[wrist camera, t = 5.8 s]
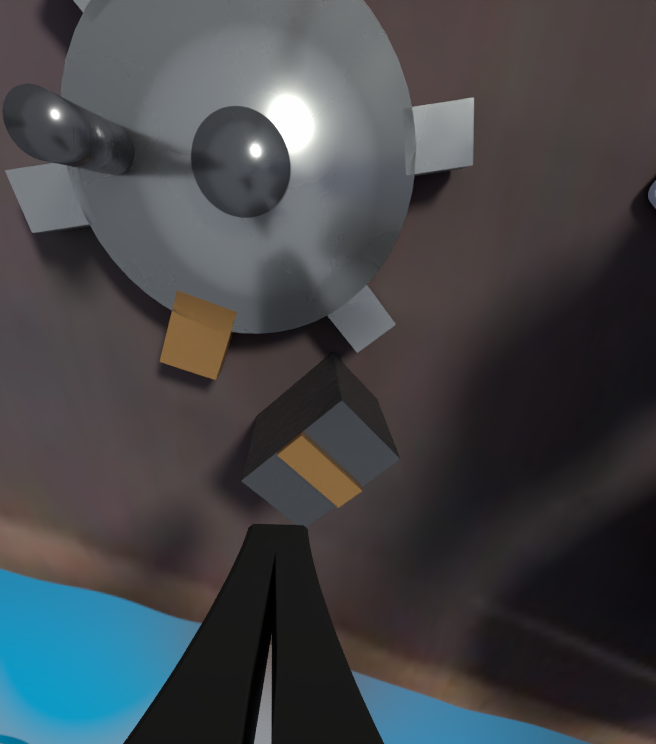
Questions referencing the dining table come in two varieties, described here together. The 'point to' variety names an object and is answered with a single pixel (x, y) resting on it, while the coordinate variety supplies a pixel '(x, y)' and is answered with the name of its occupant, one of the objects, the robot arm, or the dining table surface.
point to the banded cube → (318, 444)
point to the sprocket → (235, 160)
